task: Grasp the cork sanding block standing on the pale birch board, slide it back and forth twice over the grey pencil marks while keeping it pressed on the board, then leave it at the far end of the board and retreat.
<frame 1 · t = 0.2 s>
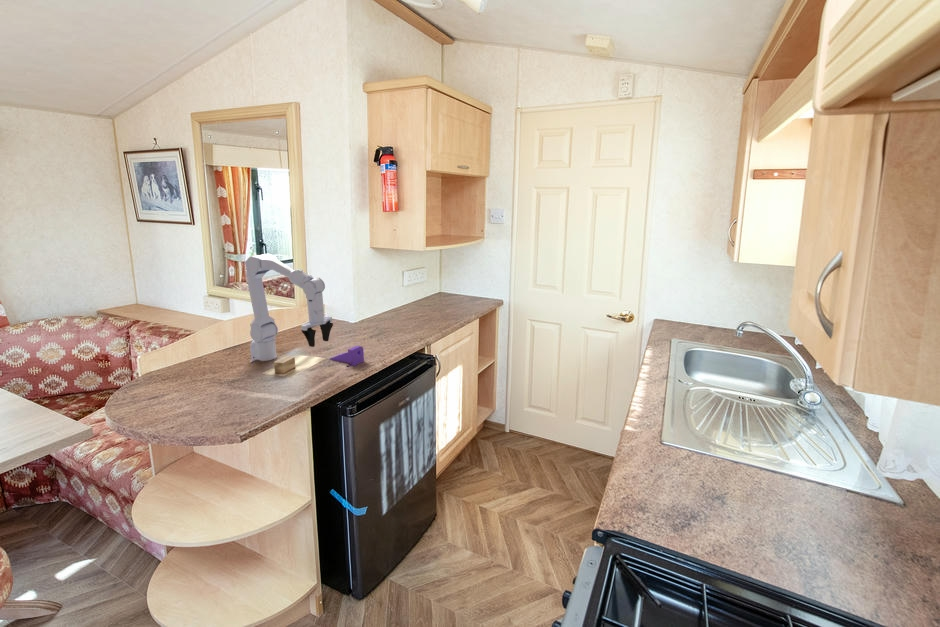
hand: (319, 343, 189), 10 cm above the counter, fingers open, 7 cm apart
board: (295, 368, 190), on the counter
carpenter pencil: (327, 360, 201), on the counter, touching bracket
bracket: (347, 362, 197), on the counter, touching carpenter pencil
sanding block: (285, 370, 184), point 1 cm above the counter, touching board
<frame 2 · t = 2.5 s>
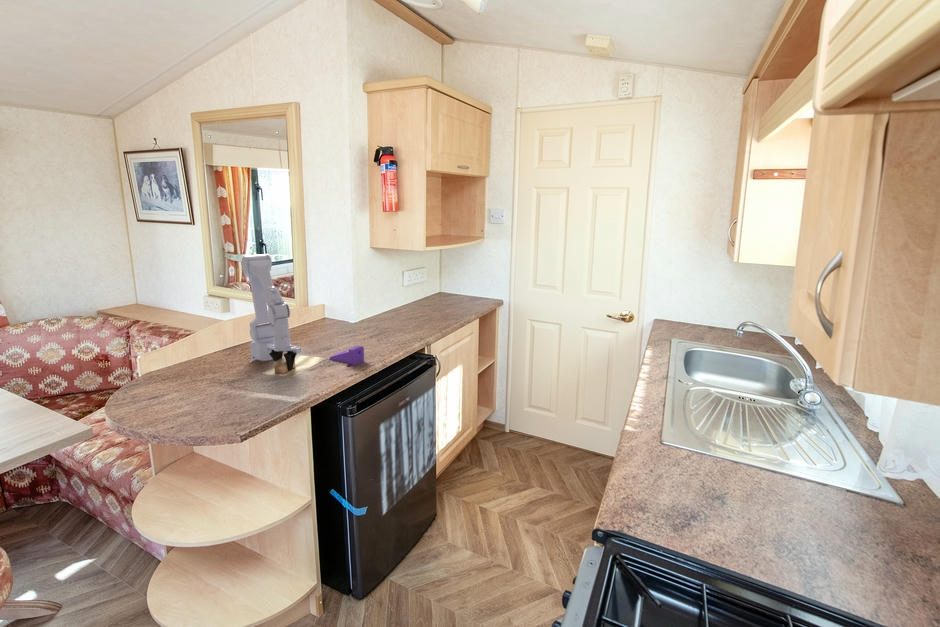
hand: (285, 369, 184), 2 cm above the counter, fingers closed on sanding block, 4 cm apart
sanding block: (285, 370, 184), point 1 cm above the counter, touching board, gripper
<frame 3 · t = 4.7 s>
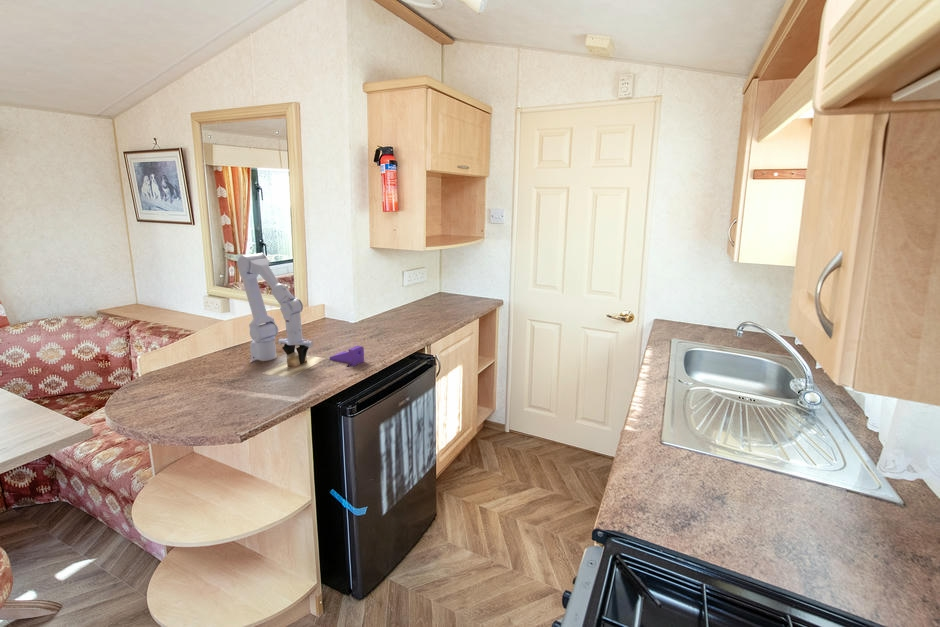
hand: (297, 362, 191), 2 cm above the counter, fingers closed on sanding block, 4 cm apart
sanding block: (297, 364, 191), point 1 cm above the counter, touching gripper
everything else where it was.
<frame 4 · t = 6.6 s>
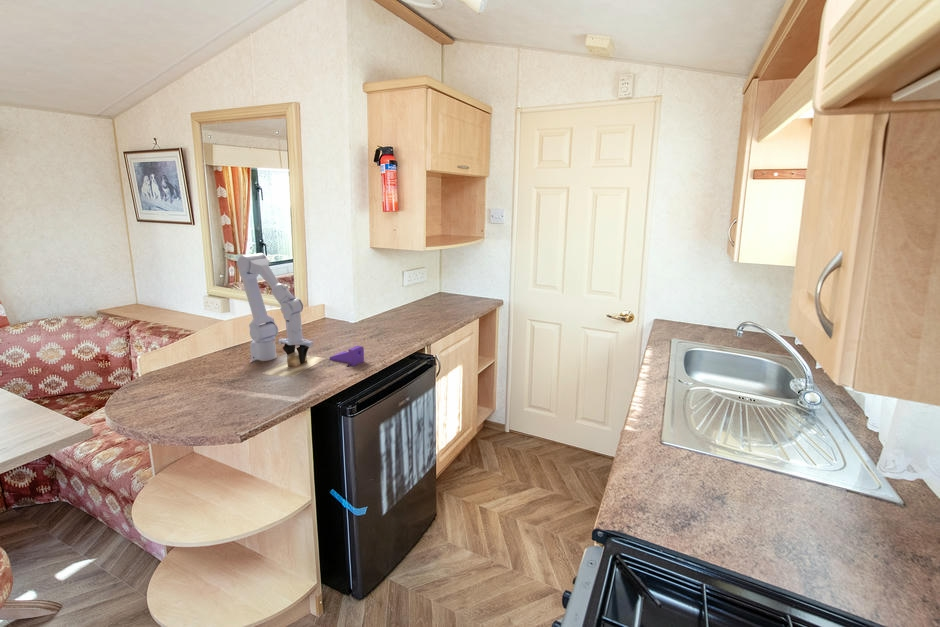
hand: (297, 362, 191), 2 cm above the counter, fingers closed on sanding block, 4 cm apart
sanding block: (297, 364, 192), point 1 cm above the counter, touching gripper
everything else where it was.
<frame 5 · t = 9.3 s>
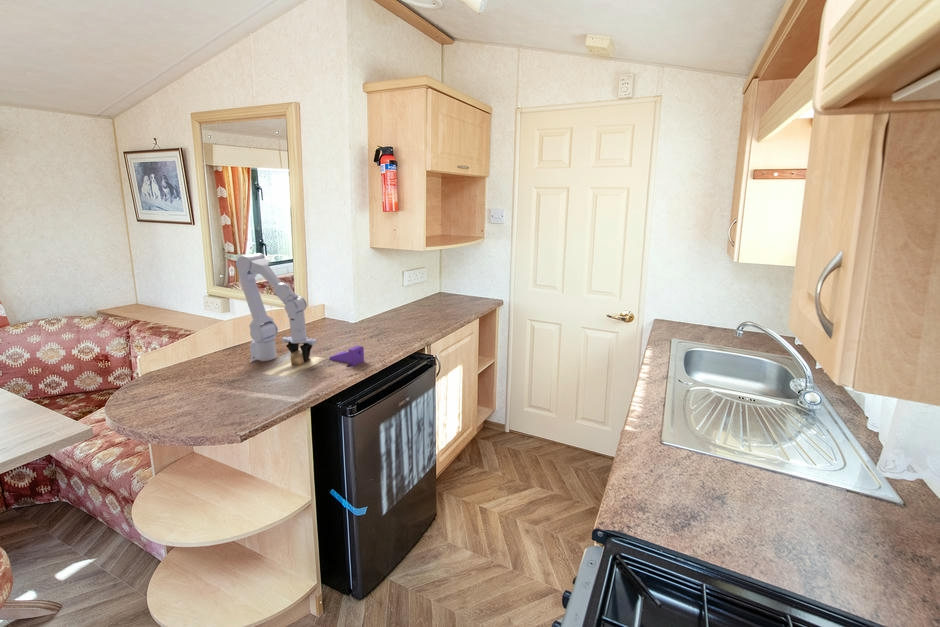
hand: (301, 360, 194), 2 cm above the counter, fingers closed on sanding block, 4 cm apart
sanding block: (301, 362, 194), point 1 cm above the counter, touching gripper
everything else where it was.
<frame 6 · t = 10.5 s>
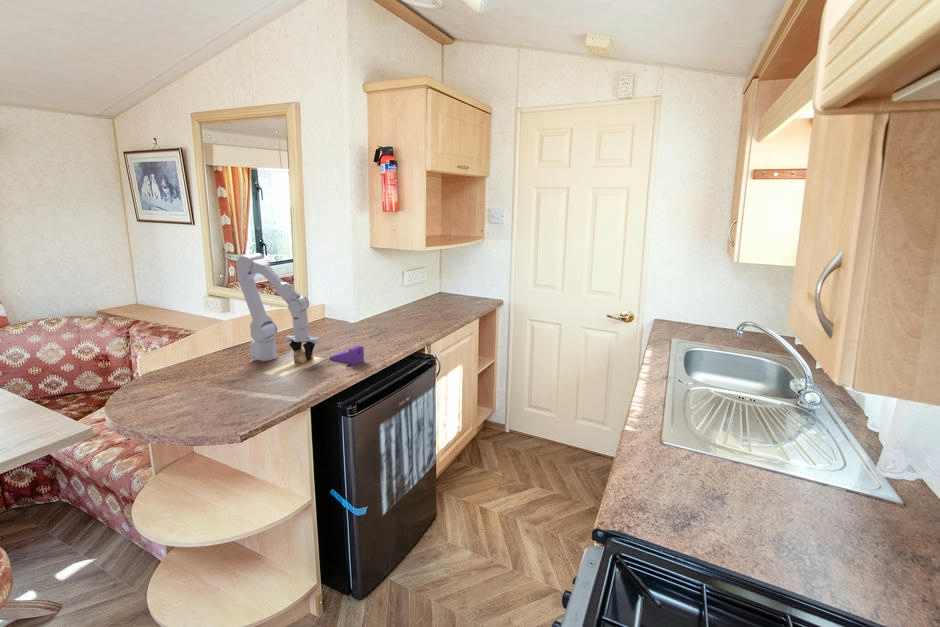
hand: (304, 359, 195), 2 cm above the counter, fingers closed on sanding block, 4 cm apart
sanding block: (303, 360, 195), point 1 cm above the counter, touching gripper
everything else where it was.
when the fingers open (2 cm above the counter, at t = 11.0 s): sanding block stays where it is, resting on board.
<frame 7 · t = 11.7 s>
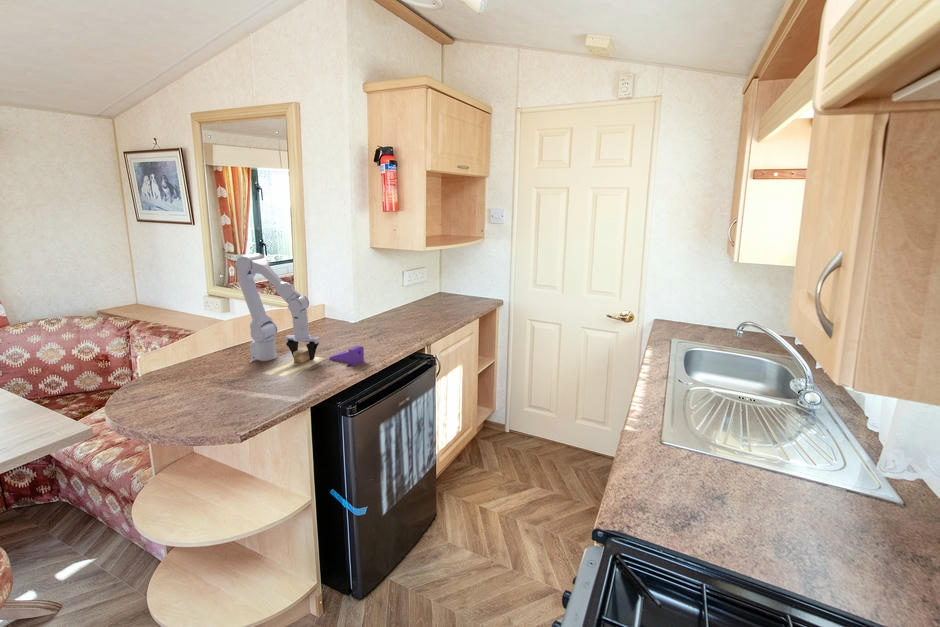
hand: (304, 358, 195), 2 cm above the counter, fingers open, 7 cm apart
sanding block: (303, 360, 195), point 1 cm above the counter, touching board
everything else where it was.
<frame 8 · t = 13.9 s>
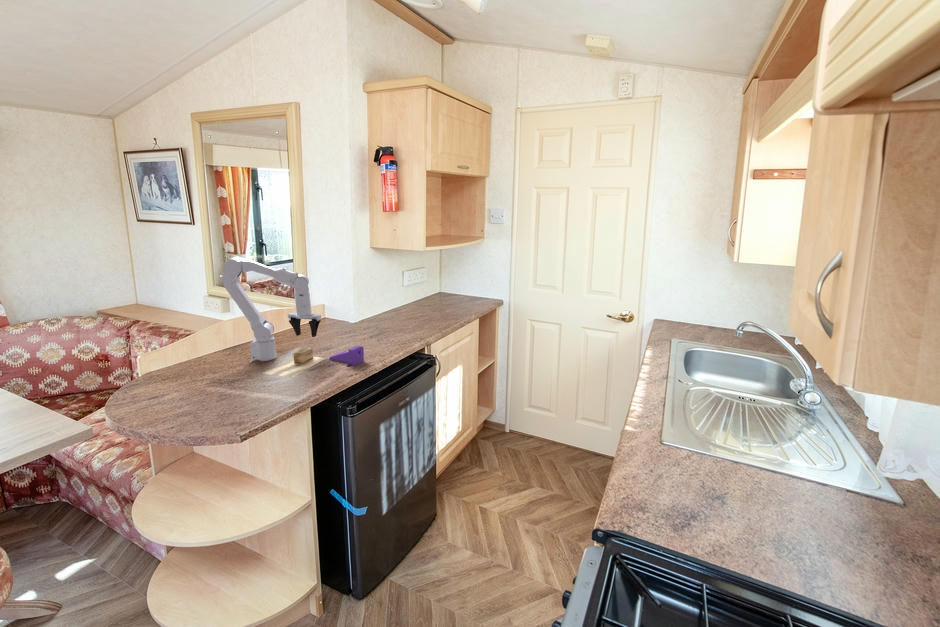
hand: (306, 335, 201), 9 cm above the counter, fingers open, 7 cm apart
nothing on the counter moved.
at the end: sanding block inside the target area (0.2 cm from its centre), point 1.2 cm above the counter; sanding block tilted 0°; the gripper is holding nothing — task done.
